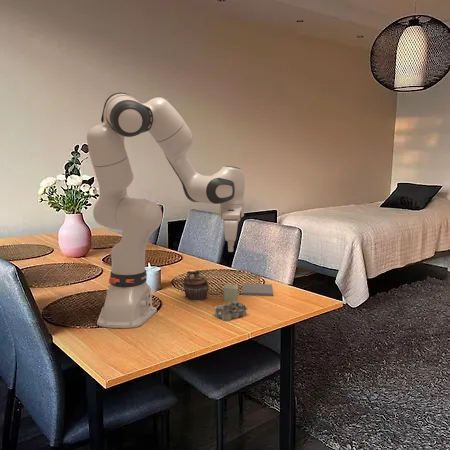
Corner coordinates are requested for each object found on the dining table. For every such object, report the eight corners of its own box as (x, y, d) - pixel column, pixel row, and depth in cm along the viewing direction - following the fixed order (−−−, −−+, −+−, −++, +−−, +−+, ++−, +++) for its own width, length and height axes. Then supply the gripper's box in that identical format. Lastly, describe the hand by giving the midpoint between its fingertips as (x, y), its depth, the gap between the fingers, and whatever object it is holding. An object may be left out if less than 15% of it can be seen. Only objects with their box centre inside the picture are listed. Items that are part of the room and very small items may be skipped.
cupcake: (191, 303, 166) (191, 276, 164) (179, 295, 174) (179, 270, 172) (213, 298, 171) (214, 272, 169) (201, 291, 179) (201, 267, 177)
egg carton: (225, 323, 148) (225, 311, 147) (211, 316, 154) (211, 304, 153) (249, 315, 155) (250, 304, 154) (235, 309, 160) (236, 298, 160)
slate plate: (273, 296, 175) (273, 293, 175) (241, 295, 175) (241, 292, 175) (271, 286, 187) (271, 284, 186) (242, 285, 187) (242, 283, 187)
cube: (237, 301, 168) (237, 288, 167) (223, 301, 168) (223, 288, 168) (237, 297, 173) (237, 284, 172) (224, 297, 173) (224, 284, 173)
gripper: (224, 207, 176) (224, 242, 178) (221, 215, 156) (221, 254, 158) (241, 207, 176) (240, 243, 178) (240, 215, 155) (239, 255, 158)
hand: (231, 248), depth 168 cm, fingers open, 8 cm apart
